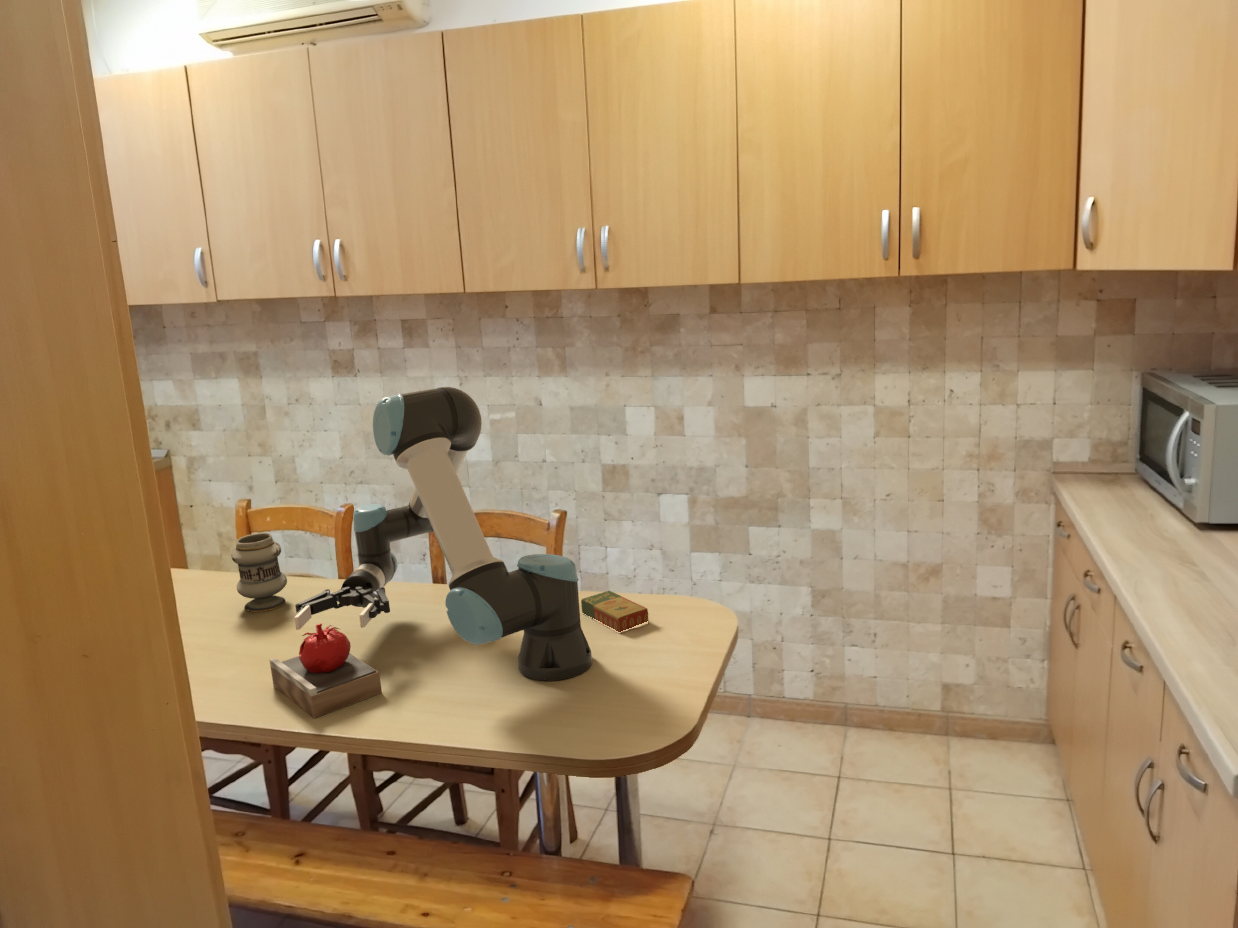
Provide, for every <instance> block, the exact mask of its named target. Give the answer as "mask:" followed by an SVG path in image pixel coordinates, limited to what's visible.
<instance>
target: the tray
mask: <svg viewBox="0 0 1238 928" xmlns="http://www.w3.org/2000/svg"><path fill="white" fill-rule="evenodd" d="M269 665H270V666H269V667H270V672H271V678H272V685H273V687H274V688H275V689H276V690H278V692H280V693H281V694H283V695H284V696H285V697H286V698H288V699H289V700H290V701H291V702H293V703H294V704H295V705H297V707H299V708H300V709H302V710H303V711H304V712H305V713H307V714H308V715H309V716H311V717H312V718H313V719H317V718H319V717H320V718H321V716H325V715H327V714H330V713H332V712H333V713H334V711H337V710H342V709H343V708H346V707H348V706H350V705H353V704H356V703H359V702H361V701H364V700H367V699H369V698H372V697H375V696H377V695H380V694H382V693H383V690H382V683H381V675H380V671H379V670H377V669H376V668H373V667H372V666H370V665H369V664H368V663H366V662H364V661H362V659H359V658H358V657H356V656H355V655H354V654H351V653H350V652H349V656H348V658H347V660H346V661H345V662H344V664H343V665H341V666H340V667H339V668H337V669H335V670H334V671H331V672H327V673H312V672H310V671H308V670H306V669H305V668H304V666H303V665H302V663H301V661H300V659H299V655H298V656H294V657H291V658H289V659H286V660H282V661H281V660H279V659H278V658H276V657H273V658H270V659H269Z"/></svg>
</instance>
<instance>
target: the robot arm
mask: <svg viewBox="0 0 1238 928" xmlns="http://www.w3.org/2000/svg"><path fill="white" fill-rule="evenodd" d="M482 423H483V422H482V415H481V412H480V408H479V406H478V404H477V403H476V401H475V400H474V399H473V398H472V397H471V396H470V394H468V393H466V392H465V391H463V390H461V389H459V388H456V387H451V386H441V387H437V388H431V389H425V390H418V391H411V392H406V393H399V392H398V393H396V394H394V395H390V396H385V397H383V398H381V399H380V400H379V401H378V402H377V404H376V406H375V408H374V410H373V417H372V432H373V434H372V435H373V439H374V442H375V445H376V448H377V450H378V451H379V452H380V453H381V454H382V455H385V456H393V458H394V460H395V463H396V465H397V466H398V467H400V468H401V469H405V470H407V471H408V475H409V476H410V479H411V481H412V483H413V485H414V491H413V493H412V496H411V499H410V500H409V503H408V504H407V505H404V506H400V507H395V508H392V509H387V510H386V507H385V506H384V505H383V504H380V503H371V504H365V505H361V506H358V507H357V508H355V510H354V511H353V516H352V517H353V519H352V520H353V531H354V536H355V543H356V549H357V561H358V567H356V568H355V569H354V570H353V571H352V572H351V573H350V575H348V576H347V578H346V579H344V581H343V583H342V584H341V588H340V589H338V590H336V591H334V592H331V590H330V588H329V589H328V588H326V589H324V590H322V591H321V592H320V593H317V594H315V595H312V596H311V597H309V598H306V599H304V600H301V601H299V602H296V604H294V605H295V611H296V615H295V616H294V617H293V618H294V624H295V625H294V626H295V630H296V631H298V630H301V629H302V628H303V627H304V626H305V625H306V624H307V622H309V621H310V619H312V616H313V615H316V614H319V613H322V612H326V611H328V610H331V609H335V610H337V609H340V608H344V607H350V606H353V607H357V608H363V610H362V612H360V613H359V623H360V628H365V627H366V626H367V625H368V624H369V623H370V622H371V620H372V619H374V618H376V617H377V616H378V615H380V614H382V613H384V614H389V613H391V607H390V600H389V599H388V597H387V593H386V588H385V586H387V584H388V583H389V582H391V580H392V579H393V577H394V576H395V574H396V571H397V569H398V561H397V558H396V556H395V555H394V554H393V553H392V552H391V543H392V542H396V541H400V540H404V539H407V538H412V537H416V536H419V535H424V534H428V533H429V534H431V533H434V535H435V537H436V539H437V542H438V544H439V547H440V549H441V552H442V554H443V556H444V558H445V561H446V563H447V566H448V568H449V570H450V572H451V577H450V579H449V581H448V588H449V592H448V593H447V595H446V597H445V602H444V603H445V604H444V605H445V608H446V614H447V618H448V620H449V622H450V624H451V626H452V628H453V629H454V632H456V633H457V635H458V636H459V637H460V638H462V640H464V641H466V642H468V643H469V644H470V645H475V646H479V645H484V644H487V643H490V642H492V643H493V642H494V643H495V642H498V641H499V640H501V639H502V638H504V637H507V636H510V635H513V634H515V633H518V632H521V631H523V637H522V640H521V644H520V648H519V649H520V650H519V653H518V656H517V663H518V664H517V666H518V671H519V673H520V674H521V675H523V676H524V677H526V678H528V679H532V680H536V681H544V682H545V681H551V682H552V681H560V680H562V681H563V680H566V679H571V678H573V677H577V676H580V675H581V674H583V673H585V672H587V670H589V669H590V667H591V666H592V663H593V659H592V658H593V657H592V650H591V648H590V645H589V642H588V640H587V637H586V636H585V634H584V631H583V629H582V626H581V622H582V621H581V615H580V614H581V609H580V599H579V585H578V582H579V578H578V573H577V567H576V564H575V562H574V561H573V560H572V559H570V558H569V557H567V556H564V555H559V554H551V553H536V554H529V555H523V556H522V557H520V558H519V559H518V560H517V565H516V567H517V569H515V570H512V571H508V568H507V567H506V564H505V562H504V560H502V559H499V558H497V557H494V556H493V554H492V551H491V549H490V547H489V545H488V543H487V540H486V538H485V536H484V533H483V530H482V529H481V526H480V524H479V522H478V519H477V517H476V515H475V513H474V510H473V508H472V506H471V503H470V501H469V499H468V496H467V495H466V492H465V490H464V488H463V487H464V486H462V483H461V481H460V479H459V476H458V472H459V470H460V469H461V465H462V464H463V461H464V459H465V457H466V454H467V453H468V452H469V451H470V450H472V449H473V448H474V447H475V446H476V444H477V443H478V440H479V438H480V435H481V431H482Z"/></svg>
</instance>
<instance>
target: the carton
mask: <svg viewBox="0 0 1238 928" xmlns="http://www.w3.org/2000/svg"><path fill="white" fill-rule="evenodd" d="M580 602H581V605H580V607H581V614H582V613H584V614H586V615H588V616H590V617H592V618H594V619H596V620H598V621H600V622H602V623H603V624H605V625H607V626H609V627H611V628H613V629H615V630H616V631H618V632H621V631H623V630H626V629H629V628H632V627H634V626H636V625H639V624H642V623H644V622H647V621H648V622H649V609H648V608H647V607H645V606H643V605H641V604H639V603H637V602H634V601H632V600H631V599H628V598H626V597H624V596H621V595H619V594H618V593H615V592H613V591H611V590H607V591H603V592H601V593H598V594H594V595H591V596H587V597H584V598H581V600H580ZM584 614H583V615H584ZM586 615H585V616H586Z"/></svg>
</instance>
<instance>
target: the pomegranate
mask: <svg viewBox="0 0 1238 928" xmlns="http://www.w3.org/2000/svg"><path fill="white" fill-rule="evenodd" d="M322 627H323V623H321V622H320V623H317V624H316V625H315V630H316V632H309V631H308V632H305V633H304V634H303V635H301V636H302V637H304V636H306V635H308V636H306V637H305V638H304V639H303V641H302V642H301V644H300V646H299V651H298V656H299V659H300V661H301V663H302V665H303V666H304V668H305V669H306V670H308V671H310V672H312V673H327V672H331V671H334V670H335V669H337V668H339V667H340V666H341V665H343V664H344V662H345V661H346V660H347V658H348V656H349V653H350V652H351V647H352V646H351V642H350V640H349V638H348V637H347V635H345V633H343V632H341V631H338V630H340V628H338V627H335V626H332V625H327V626H326V627H325V628H324V629H323V628H322ZM330 627H331V628H330Z"/></svg>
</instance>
